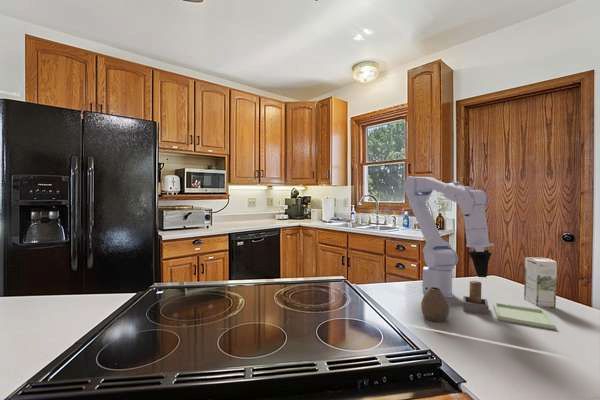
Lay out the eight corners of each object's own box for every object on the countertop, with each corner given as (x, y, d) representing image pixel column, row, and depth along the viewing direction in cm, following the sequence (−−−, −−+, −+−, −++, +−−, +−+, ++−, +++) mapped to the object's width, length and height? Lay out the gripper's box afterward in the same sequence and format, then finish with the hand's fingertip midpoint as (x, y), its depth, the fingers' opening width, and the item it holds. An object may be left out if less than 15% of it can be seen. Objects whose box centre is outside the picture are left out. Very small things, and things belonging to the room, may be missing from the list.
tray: (497, 321, 79) (497, 315, 79) (493, 307, 90) (493, 302, 90) (555, 331, 73) (555, 325, 73) (543, 315, 84) (543, 309, 84)
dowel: (469, 309, 86) (469, 282, 86) (469, 306, 89) (469, 280, 89) (481, 311, 85) (481, 284, 85) (480, 308, 87) (481, 281, 87)
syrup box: (542, 301, 95) (543, 256, 95) (556, 308, 89) (557, 260, 89) (523, 300, 95) (524, 256, 95) (536, 307, 89) (537, 260, 89)
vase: (452, 326, 76) (452, 293, 76) (424, 324, 78) (424, 291, 77) (444, 316, 83) (445, 285, 83) (418, 314, 84) (419, 283, 84)
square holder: (463, 312, 86) (463, 302, 86) (463, 305, 91) (463, 295, 91) (488, 316, 83) (488, 306, 83) (486, 309, 88) (486, 299, 88)
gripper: (494, 228, 80) (500, 279, 78) (489, 228, 92) (495, 272, 91) (464, 229, 83) (470, 278, 81) (464, 229, 96) (469, 272, 94)
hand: (481, 275), depth 86 cm, fingers open, 7 cm apart
